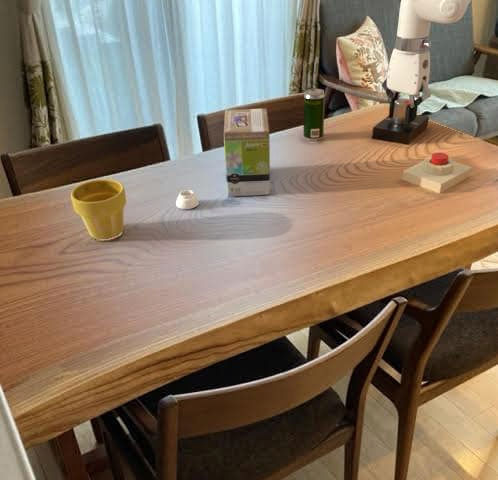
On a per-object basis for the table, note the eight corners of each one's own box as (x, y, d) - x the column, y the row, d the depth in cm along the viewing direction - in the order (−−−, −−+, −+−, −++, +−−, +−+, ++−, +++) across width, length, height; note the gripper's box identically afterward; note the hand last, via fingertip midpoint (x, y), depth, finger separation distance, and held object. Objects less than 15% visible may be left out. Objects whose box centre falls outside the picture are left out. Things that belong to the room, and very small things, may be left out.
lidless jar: (176, 201, 121) (176, 211, 117) (175, 188, 119) (174, 199, 115) (199, 199, 121) (199, 209, 117) (197, 187, 119) (197, 197, 116)
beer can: (326, 139, 144) (328, 93, 137) (307, 142, 144) (307, 96, 136) (319, 132, 148) (320, 87, 141) (300, 135, 148) (301, 89, 140)
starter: (432, 164, 129) (435, 147, 127) (470, 176, 123) (474, 159, 121) (401, 180, 124) (404, 163, 121) (439, 193, 118) (442, 176, 115)
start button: (436, 158, 123) (437, 151, 122) (450, 163, 121) (451, 155, 120) (427, 163, 121) (428, 155, 120) (441, 167, 119) (442, 160, 118)
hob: (392, 121, 152) (394, 110, 150) (427, 127, 148) (429, 115, 146) (371, 138, 144) (373, 126, 142) (407, 145, 139) (409, 133, 137)
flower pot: (142, 231, 111) (134, 187, 105) (100, 252, 106) (88, 207, 100) (114, 216, 117) (104, 173, 111) (72, 235, 112) (59, 191, 105)
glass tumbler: (389, 123, 143) (391, 101, 140) (396, 117, 146) (399, 96, 143) (406, 126, 141) (409, 104, 138) (413, 120, 144) (416, 99, 140)
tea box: (271, 195, 121) (270, 129, 112) (227, 197, 121) (221, 132, 112) (268, 167, 133) (266, 106, 123) (228, 169, 133) (223, 108, 123)
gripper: (450, 46, 128) (437, 122, 140) (393, 35, 138) (385, 108, 150) (431, 52, 125) (419, 130, 136) (374, 41, 135) (367, 115, 147)
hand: (401, 118), depth 143 cm, fingers closed on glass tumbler, 4 cm apart
